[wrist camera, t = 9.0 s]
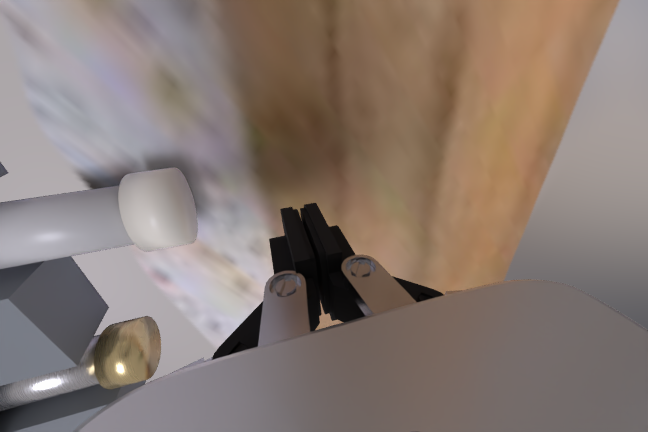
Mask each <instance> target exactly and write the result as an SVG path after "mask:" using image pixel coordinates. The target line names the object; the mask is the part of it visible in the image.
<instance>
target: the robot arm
mask: <svg viewBox="0 0 648 432" xmlns="http://www.w3.org/2000/svg"><path fill="white" fill-rule="evenodd" d="M300 211H301V218H300V215H299V213H298V210H297V209H295V210H293V208H292V207H289V208H283V209H281V216H282V222H283V228H284V233H285V236H281V237H276V238H271V239H269V241H270V248H271V255H272V262H273V269H274V275H273V276H272V277H271V278H269V280H268V281H267V282H266V285H265V290H264V299H263V302H262V303H261V304H260V305H259V306H258V307H257V308H256V309H255V310H254V311H253V312H252V313H251V314H250V315H249V316H248V317H247V318H246V320H245V321H244V322H243V323H242V324H241V325H240V326H239V327H238V328H237V329H236V330H235V331H234V332H233V333H232V334H231V335H230V336H229V337H228V338H227V339H226V340H225V342H224V343H223V344H222V345H221V346H220V347H219V348H218V349H217V351H216V352H215V353H214V355H213V357H212V358H210V359H207V360H206V361H205V360H204V358H201V359H199V360H198V361H195V362H193V363H191V364H189V365H187V366H185V367H183V368H180V369H178V370H176V371H174V372H172V373H170V374H168V375H166V376H163V377H161V378H158V379H156V380H153V381H150V382H149V383H146V384H144V385H142V386H140V387H138V388H136V389H134V390H132V391H130V392H128V393H127V394H125V395H123V396H122V397H120V398H118V399H117V400H115V401H113V402H112V403H110V404H109V405H107V406H105V407H104V408H102V409H101V410H99V411H98V412H97V413H95V414H94V415H92V416H91V417H90V418H88V419H87V420H86V421H84V422H83V423H82V424H81V425H79V426H78V427H77V428H76V429H75V430H74V431H73V432H648V330H647V329H645V328H644V327H643V326H641V325H639V324H638V323H636V322H635V321H633V320H631V319H630V318H628V317H627V316H625V315H623V314H622V313H620V312H619V311H617V310H615V309H614V308H612V307H610V306H609V305H607V304H605V303H604V302H602V301H600V300H598V299H597V298H595V297H593V296H591V295H589V294H588V293H586V292H584V291H582V290H580V289H577V288H575V287H573V286H570V285H567V284H564V283H559V282H553V281H545V280H529V279H528V280H511V281H504V282H497V283H493V284H488V285H484V286H479V287H475V288H471V289H467V290H460V291H446V293H445V295H443V294H442V293H441V292H439V291H436V290H434V289H431V288H428V287H425V286H421V285H418V284H415V283H412V282H409V281H406V280H402V279H399V278H396V277H393V276H391V275H390V274H389V273H388V272H387V271H386V270H385V269H384V268H383V267H382V266H381V265H380V264H379V263H378V261H376V260H375V259H374V258H372V257H370V256H367V255H355V253H354V252H353V250H352V248H351V247H350V245H349V243H348V242H347V240H346V238H345V237H344V235H343V233H342V232H341V230H340V228H339V227H338V226H337V225H336V226H331V227H329V226H328V225H327V223H326V221H325V219H324V217H323V215H322V213H321V211H320V210H319V208H318V206H317V204H316V203H311V204H306V205H304V208H300ZM301 219H302V221H301ZM320 301H321V304H322V307H323V310H324V313H325V314H327V313H329V314H330V316H331V319H332V321H333V320H337V319H338V320H340V321H342V322H344V323H340V324H337V325H333V326H329V327H326V328H322V329H319V330H315V329H316V328H317V326H318V325H319V323H320V321H319V316H320V315H321V306H320Z"/></svg>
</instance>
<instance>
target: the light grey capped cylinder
mask: <svg viewBox="0 0 648 432" xmlns="http://www.w3.org/2000/svg"><path fill="white" fill-rule="evenodd" d="M197 231H198V222H197V213H196V207H195V202H194V198H193V195H192V192H191V189H190V187H189V184H188V182H187V180H186V178H185V176H184V175H183V173H182V172H181V171H180V170H179V169H178V168H176V167H173V168H166V169H158V170H151V171H144V172H136V173H129V174H126V175H125V176H124V177H123V178H122V180H121V182H120V185H119V186H112V187H105V188H98V189H91V190H84V191H77V192H71V193H64V194H57V195H50V196H43V197H36V198H29V199H22V200H15V201H8V202H1V203H0V269H4V268H9V267H15V266H20V265H25V264H31V263H36V262H42V261H47V260H53V259H58V258H63V257H69V256H74V255H80V254H85V253H90V252H96V251H101V250H107V249H111V248H117V247H122V246H128V245H134V244H135V245H136V246H137V247H138V248H140V249H141V250H143V251H146V252H150V251H155V250H160V249H165V248H170V247H176V246H181V245H186V244H191V243H194V241H195V240H196V237H197Z"/></svg>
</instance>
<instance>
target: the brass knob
mask: <svg viewBox="0 0 648 432" xmlns="http://www.w3.org/2000/svg"><path fill="white" fill-rule="evenodd" d="M160 353H161V339H160V333H159V329H158V326H157V324H156V322H155V321H154V320H153V319H152V318H151V317H148V316H145V317H141V318H137V319H132V320H128V321H124V322H119V323H115V324H112V325H110V326H108V327H107V328H106V329H105V330H104V331H103V332H102V334H101V335H97V336H93V338H92V340H91V342H90V343H89V345H88V347H87V349H86V351H85V353H84V355H83V357H82V358H81V360H80V362H79V364H78V366H76V367H72V368H68V369H64V370H60V371H56V372H53V373H49V374H45V375H41V376H37V377H33V378H29V379H25V380H21V381H18V382H14V383H10V384H6V385H2V386H0V411H3V410H6V409H10V408H14V407H17V406H21V405H25V404H28V403H32V402H36V401H39V400H43V399H47V398H50V397H54V396H58V395H61V394H65V393H69V392H72V391H76V390H80V389H83V388H87V387H91V386H94V385H98V384H100V385H101V386H102V387H103V388H105V389H108V390H111V389H115V388H119V387H122V386H126V385H129V384H133V383H137V382H140V381H144V380H147V379H149V378H151V377H152V376H153V374H154V373H155V371H156V369H157V367H158V363H159V360H160Z"/></svg>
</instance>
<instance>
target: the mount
mask: <svg viewBox="0 0 648 432" xmlns="http://www.w3.org/2000/svg"><path fill="white" fill-rule="evenodd" d="M7 173H8V172H7V170H6V169H5V168H4V166H3V165H2V164H1V163H0V177H1V176H3V175H5V174H7ZM108 308H109V307H108V305H107V304H106V303H105V301H104V300H103V299H102V298H101V296H100V295H99V293H98V292H97V291H96V289H95V288H94V287H93V285H92V284H91V283H90V281H89V280H88V279H87V277H86V276H85V275H84V273H83V272H82V271H81V269H80V268H79V267H78V265H77V264H76V263H75V261H74V260H73V259H72V257H71V256H69V257H63V258H58V259H53V260H47V261H42V262H36V263H31V264H25V265H20V266H15V267H9V268H4V269H0V386H2V385H6V384H10V383H14V382H18V381H21V380H25V379H29V378H33V377H37V376H41V375H45V374H49V373H53V372H56V371H60V370H64V369H68V368H72V367H76V366H78V364H79V362H80V360H81V358H82V357H83V355H84V353H85V351H86V349H87V347H88V345H89V343H90V342H91V340H92V338H93V336H94V334H95V332H96V330H97V328H98V327H99V324H100V322H101V321H102V319H103V317H104V315H105V313H106V311H107V310H108ZM145 382H146V380H144V381H140V382H137V383H133V384H129V385H126V386H122V387H119V388H115V389H111V390H108V389H105V388H103V387H102V386H101V385H100V384H98V385H94V386H91V387H87V388H83V389H80V390H76V391H72V392H69V393H65V394H61V395H58V396H54V397H50V398H47V399H43V400H39V401H36V402H32V403H28V404H25V405H21V406H17V407H14V408H10V409H6V410H3V411H0V432H73V431H74V430H75V429H76V428H77V427H78V426H79V425H81V424H82V423H83V422H84V421H86V420H87V419H88V418H90V417H91V416H92V415H94V414H95V413H97V412H98V411H99V410H101V409H102V408H104V407H105V406H107V405H109V404H110V403H112V402H113V401H115V400H117V399H118V398H120V397H122V396H123V395H125V394H127V393H128V392H130V391H132V390H134V389H136V388H138V387H140V386H142V385H144V384H145Z"/></svg>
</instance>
